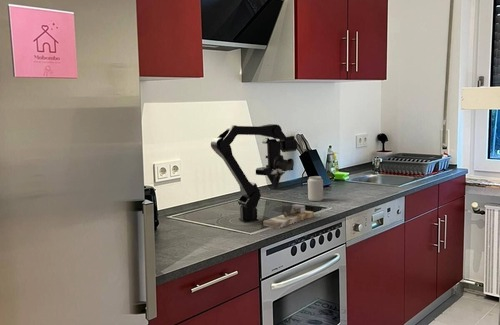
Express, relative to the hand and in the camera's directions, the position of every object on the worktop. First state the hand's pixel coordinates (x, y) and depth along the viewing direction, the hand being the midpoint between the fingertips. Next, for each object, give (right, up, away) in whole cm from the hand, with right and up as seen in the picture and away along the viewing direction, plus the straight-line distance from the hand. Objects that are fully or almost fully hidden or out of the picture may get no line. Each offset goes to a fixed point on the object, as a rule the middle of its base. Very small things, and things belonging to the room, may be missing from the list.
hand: (275, 188), depth 214 cm
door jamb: (+5, -13, -9) cm, 17 cm away
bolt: (+7, -11, -8) cm, 15 cm away
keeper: (+10, -10, -5) cm, 15 cm away
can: (+22, -8, +31) cm, 39 cm away
